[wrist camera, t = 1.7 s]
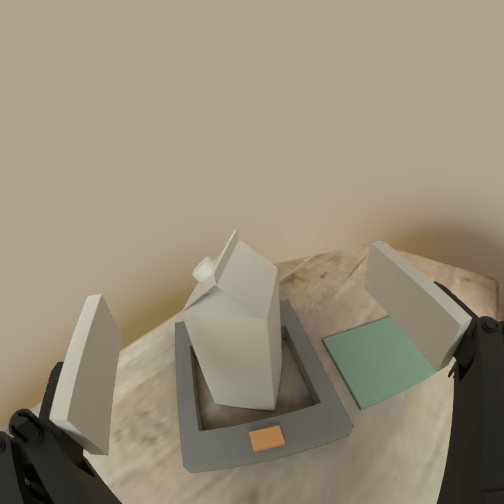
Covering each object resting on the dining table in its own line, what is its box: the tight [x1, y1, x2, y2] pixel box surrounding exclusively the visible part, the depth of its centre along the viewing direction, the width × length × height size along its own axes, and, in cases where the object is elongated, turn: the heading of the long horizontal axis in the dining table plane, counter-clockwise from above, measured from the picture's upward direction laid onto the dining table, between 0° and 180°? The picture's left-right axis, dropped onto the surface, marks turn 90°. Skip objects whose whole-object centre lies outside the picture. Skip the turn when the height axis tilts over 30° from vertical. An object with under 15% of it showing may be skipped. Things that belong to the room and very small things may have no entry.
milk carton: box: [182, 229, 282, 411], centre depth 27 cm, size 7×7×19 cm
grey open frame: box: [175, 300, 353, 473], centre depth 31 cm, size 17×22×7 cm
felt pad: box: [322, 316, 436, 410], centre depth 32 cm, size 12×12×1 cm
